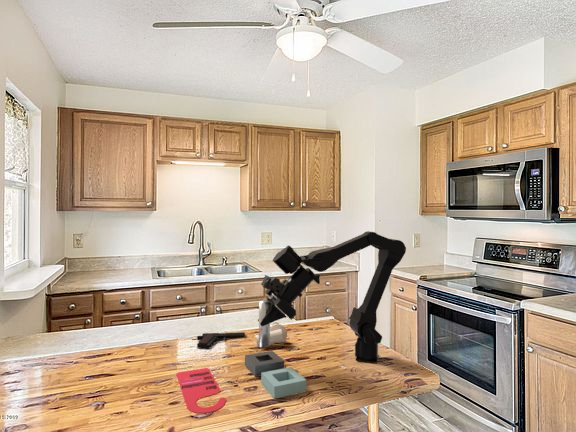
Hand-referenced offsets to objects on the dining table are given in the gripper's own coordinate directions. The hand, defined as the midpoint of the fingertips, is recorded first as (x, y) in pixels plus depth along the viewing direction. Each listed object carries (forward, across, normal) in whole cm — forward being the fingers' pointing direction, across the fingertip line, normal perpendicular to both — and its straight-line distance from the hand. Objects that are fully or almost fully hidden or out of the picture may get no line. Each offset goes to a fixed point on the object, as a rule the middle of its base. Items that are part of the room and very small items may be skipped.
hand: (259, 323), depth 113 cm
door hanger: (+22, +9, -2) cm, 24 cm away
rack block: (+7, +13, +12) cm, 19 cm away
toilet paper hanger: (+4, -26, +16) cm, 31 cm away
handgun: (+17, -26, +3) cm, 31 cm away
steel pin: (+4, 0, +6) cm, 7 cm away
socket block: (+9, 0, +10) cm, 13 cm away
